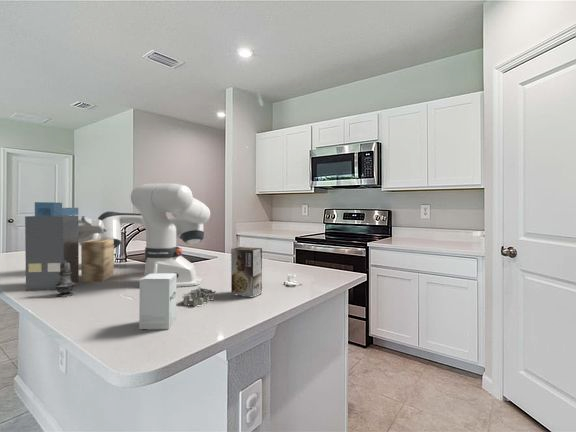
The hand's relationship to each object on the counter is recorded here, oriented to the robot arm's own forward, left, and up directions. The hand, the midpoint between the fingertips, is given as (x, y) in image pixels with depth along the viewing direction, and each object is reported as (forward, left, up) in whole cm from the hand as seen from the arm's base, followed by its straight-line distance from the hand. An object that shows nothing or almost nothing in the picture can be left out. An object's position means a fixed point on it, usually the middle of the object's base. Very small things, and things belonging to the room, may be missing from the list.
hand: (70, 217), depth 136 cm
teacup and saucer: (-86, +24, -26) cm, 93 cm away
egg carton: (-55, +43, -25) cm, 74 cm away
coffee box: (-71, +36, -25) cm, 83 cm away
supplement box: (-47, +62, -25) cm, 82 cm away
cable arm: (-1, +10, +1) cm, 10 cm away
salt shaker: (-11, +29, -25) cm, 40 cm away
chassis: (-1, +15, -25) cm, 29 cm away
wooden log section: (-12, +3, -25) cm, 28 cm away
